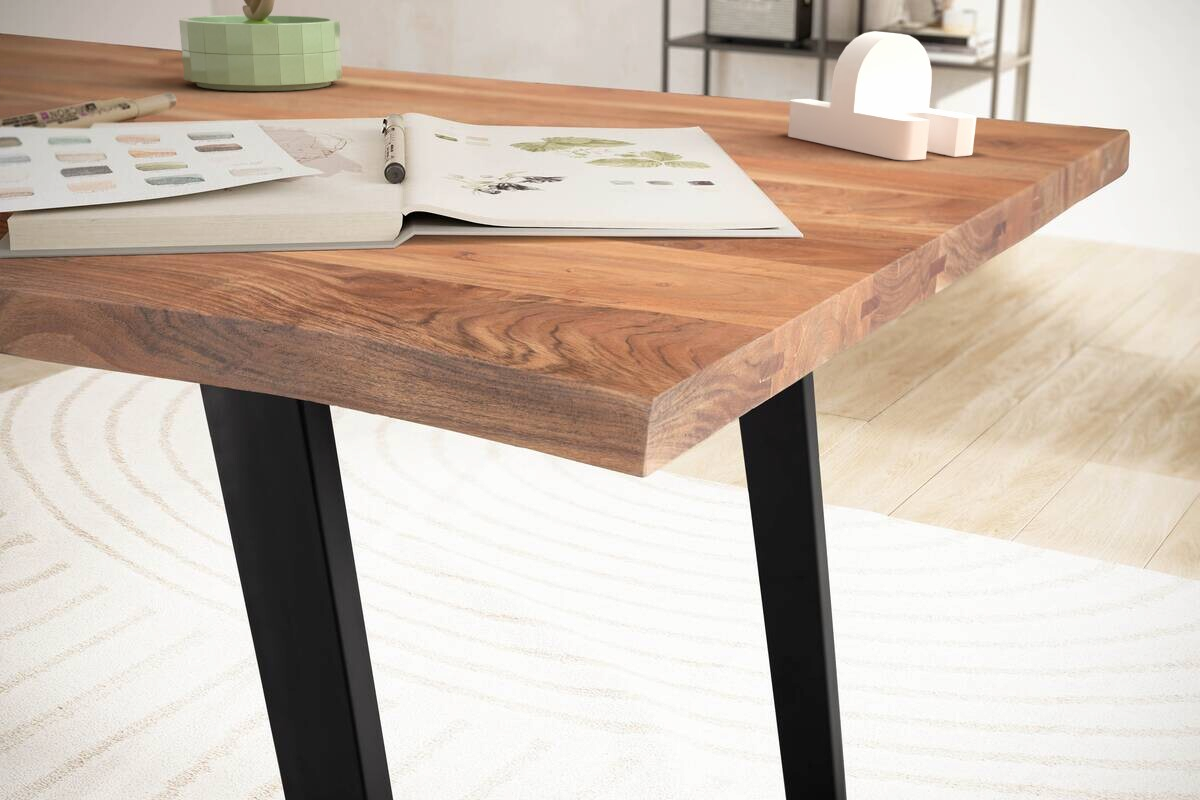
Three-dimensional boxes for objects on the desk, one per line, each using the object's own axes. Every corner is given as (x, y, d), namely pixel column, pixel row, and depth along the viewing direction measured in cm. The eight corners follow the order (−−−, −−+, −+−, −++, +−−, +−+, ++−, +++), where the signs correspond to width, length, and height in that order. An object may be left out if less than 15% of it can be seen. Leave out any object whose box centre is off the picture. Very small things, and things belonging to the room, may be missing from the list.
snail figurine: (254, 82, 119) (244, -55, 115) (221, 76, 123) (211, -56, 119) (305, 79, 122) (298, -54, 118) (272, 73, 127) (264, -55, 123)
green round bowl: (214, 95, 113) (209, 25, 111) (165, 80, 125) (159, 16, 123) (366, 88, 121) (363, 22, 119) (306, 74, 133) (303, 14, 131)
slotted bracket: (977, 154, 88) (991, 38, 86) (901, 160, 85) (913, 39, 83) (855, 130, 99) (863, 26, 96) (783, 135, 96) (790, 27, 93)
